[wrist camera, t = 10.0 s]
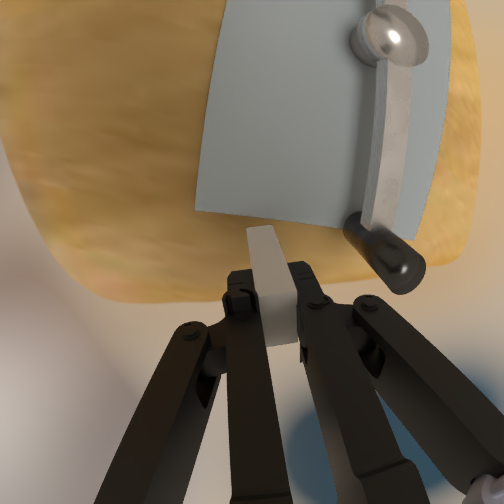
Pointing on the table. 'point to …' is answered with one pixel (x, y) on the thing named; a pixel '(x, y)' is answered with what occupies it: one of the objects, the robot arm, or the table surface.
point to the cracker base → (312, 113)
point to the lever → (389, 143)
